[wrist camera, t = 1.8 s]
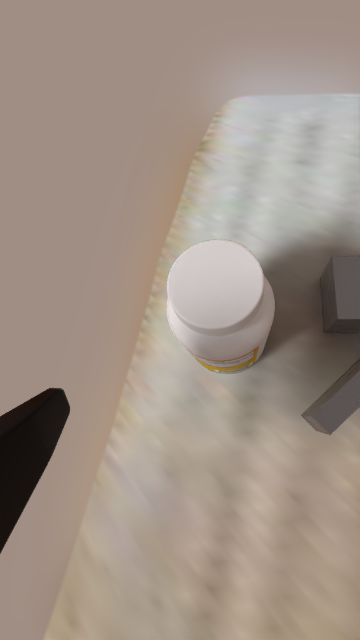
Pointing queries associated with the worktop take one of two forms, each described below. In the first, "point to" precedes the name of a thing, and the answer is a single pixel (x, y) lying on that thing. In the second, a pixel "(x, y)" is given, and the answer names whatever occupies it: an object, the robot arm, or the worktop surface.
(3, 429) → the robot arm
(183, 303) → the supplement bottle
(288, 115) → the worktop surface
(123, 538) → the worktop surface
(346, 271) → the v block
